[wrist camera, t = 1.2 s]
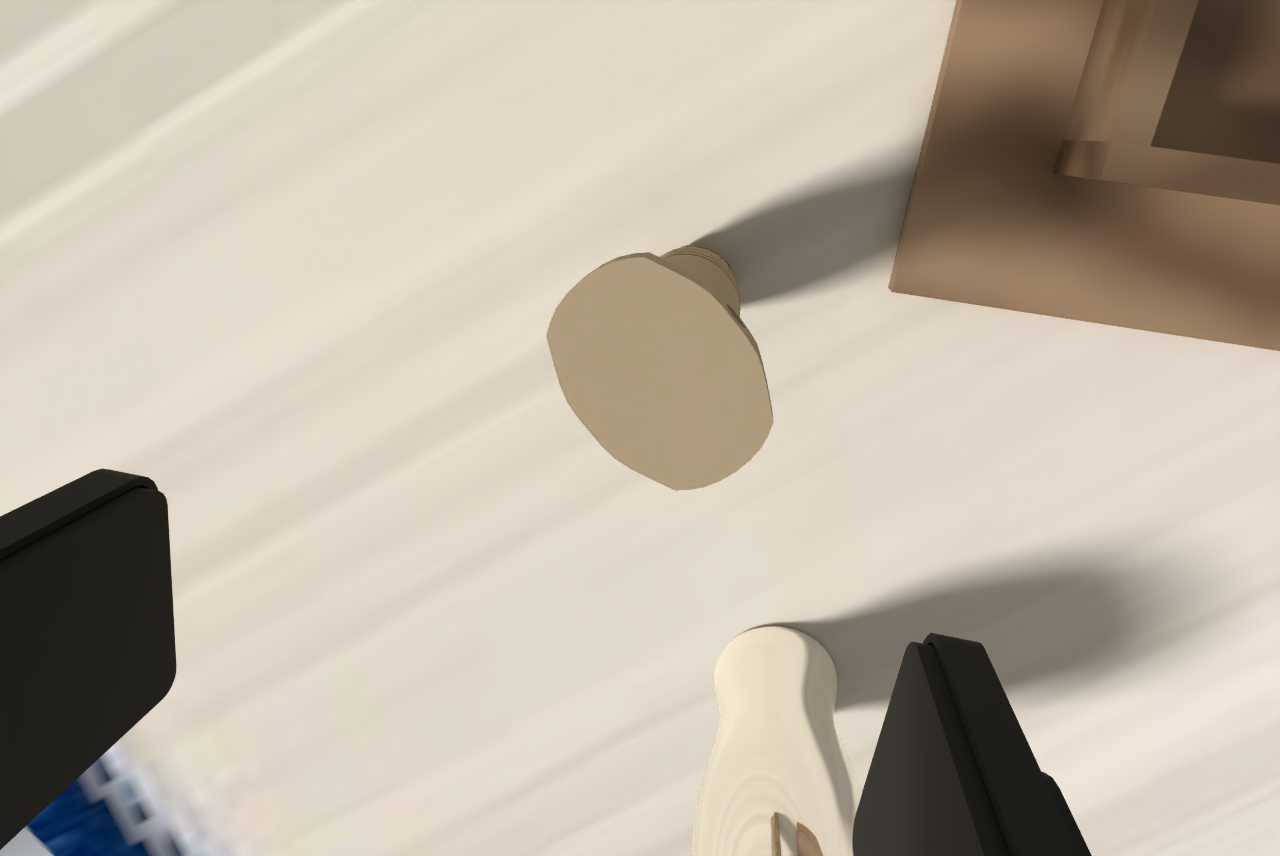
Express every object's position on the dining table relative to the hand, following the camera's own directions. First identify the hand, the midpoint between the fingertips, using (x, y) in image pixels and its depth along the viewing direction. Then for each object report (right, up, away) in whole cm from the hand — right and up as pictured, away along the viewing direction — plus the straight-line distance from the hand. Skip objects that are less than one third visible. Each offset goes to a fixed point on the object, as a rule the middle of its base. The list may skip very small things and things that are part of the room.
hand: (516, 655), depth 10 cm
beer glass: (+8, -10, +31) cm, 34 cm away
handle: (+4, +9, +25) cm, 27 cm away
